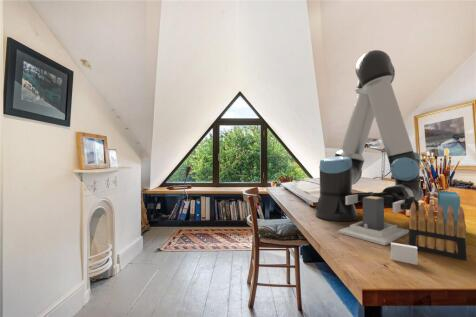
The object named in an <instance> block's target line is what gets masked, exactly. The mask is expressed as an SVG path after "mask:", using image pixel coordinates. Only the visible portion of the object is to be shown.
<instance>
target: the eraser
mask: <svg viewBox="0 0 476 317" xmlns="http://www.w3.org/2000/svg"><path fill="white" fill-rule="evenodd" d="M417 249H418V248H417V247H416V246H410V245H409V244H405V243H404V244H403V243H397V242H393V241H392V242H391V243H390V260H391V261H396V262H402V263H406V264H412V265H418V251H417Z"/></svg>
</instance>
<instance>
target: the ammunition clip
mask: <svg viewBox="0 0 476 317" xmlns="http://www.w3.org/2000/svg"><path fill="white" fill-rule="evenodd" d="M409 212H410V214H409V222H408V223H409V224H408V226H409V227H408V228H409V229H408V230H409V233H408V245H410V246H416V247H417V248H418V249H417V250H418V251H417V252H422V251H423V252H422V253H426V252H427V254H432V255H436V256H441V257H445V258H450V259H455V260H460V261H465V262H467V260H468V258H467V226H466V219H465V211H464V208H463V207H462V206H460V208H459V210H458V215H457V224H456V235H455V222H454V212H453V208H452V206H449V208H448V212H447V221H446V233H445V222H444V212H443V208H442V206H441V205H439V207H438V206H437V211H436V220H435V210H434V206H433V204H432V203H430V204H429V206H428V208H427V218H426V209H425V204H424V203H423V202H421V203H420V204H419V211H418V217H417V211H416V206H415V203H414V202H412V205H411V208H410V211H409Z"/></svg>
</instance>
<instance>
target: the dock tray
mask: <svg viewBox="0 0 476 317" xmlns="http://www.w3.org/2000/svg"><path fill="white" fill-rule="evenodd" d="M338 233H339V234H341V235H346V236H349V237H353V238H356V239H359V240H364V241H367V242H372V243H374V244H378V245H382V246H387V245H388V244H391V242H392V243H393V242H394V241H396V240H398V239H400V238H402V237H403V236H405V235H407V234H409V229H406V228H405V229H404V228H401V227H398V224H397V225H396V224H392V223H387V222H384V229H383V230H381V231H377V230H373V229H369V228H367V224H364V227H363V220H361V221H358V222H355V223H352V224H349V226H347V227H343V228H341V229H339V230H338Z"/></svg>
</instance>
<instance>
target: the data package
mask: <svg viewBox="0 0 476 317" xmlns="http://www.w3.org/2000/svg"><path fill="white" fill-rule="evenodd" d="M439 205H441V206H442V208H443V212H444V222H445V233H446V221H447V212H448V208H449V206H452V208H453V212H454V222H455V235H456V224H457V215H458V210H459V208H460V207H461V197H460V196H459V194H458V193H457V192H455V191H443V190H438V191H437V208H438V207H439Z"/></svg>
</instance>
